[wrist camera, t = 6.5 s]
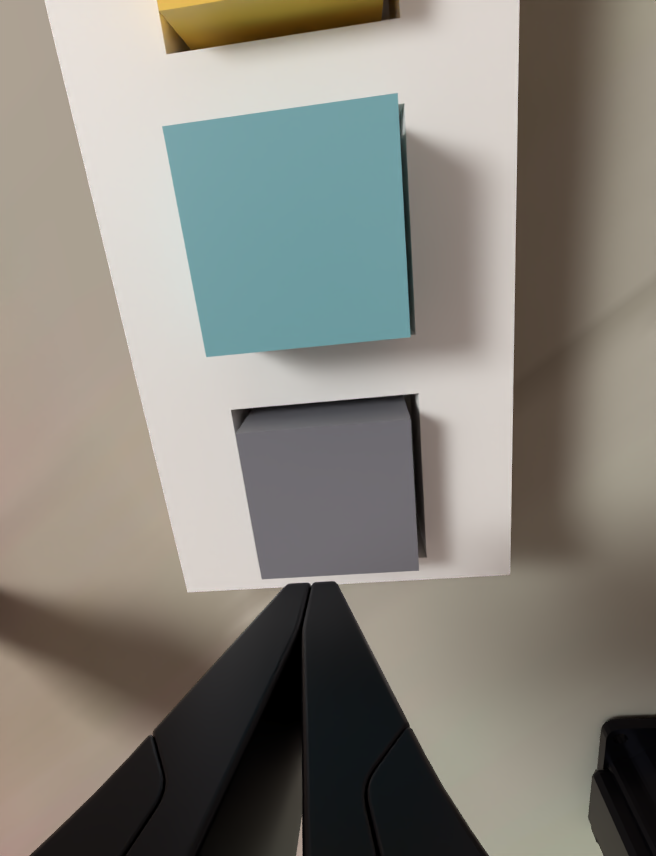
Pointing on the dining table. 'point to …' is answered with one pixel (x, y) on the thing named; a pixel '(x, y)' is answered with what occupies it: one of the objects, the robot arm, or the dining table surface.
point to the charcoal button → (331, 487)
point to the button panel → (332, 364)
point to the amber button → (261, 18)
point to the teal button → (294, 225)
